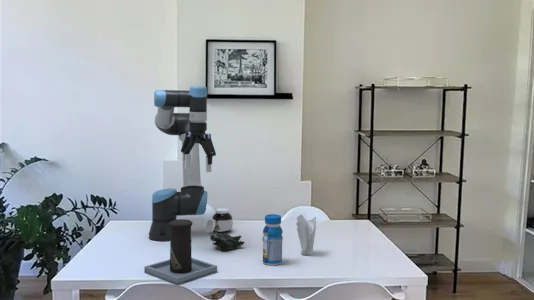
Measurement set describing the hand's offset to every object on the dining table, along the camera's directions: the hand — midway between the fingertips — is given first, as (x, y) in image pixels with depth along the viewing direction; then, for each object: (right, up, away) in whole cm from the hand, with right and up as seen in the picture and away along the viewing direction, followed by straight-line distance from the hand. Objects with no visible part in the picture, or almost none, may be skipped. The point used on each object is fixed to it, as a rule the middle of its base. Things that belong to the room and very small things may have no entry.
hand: (197, 170), depth 229 cm
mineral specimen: (+12, -36, +9) cm, 39 cm away
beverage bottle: (+32, -38, -10) cm, 51 cm away
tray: (-3, -39, -24) cm, 46 cm away
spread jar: (+5, -33, +38) cm, 51 cm away
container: (-3, -38, -24) cm, 45 cm away
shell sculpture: (+48, -37, +3) cm, 61 cm away
